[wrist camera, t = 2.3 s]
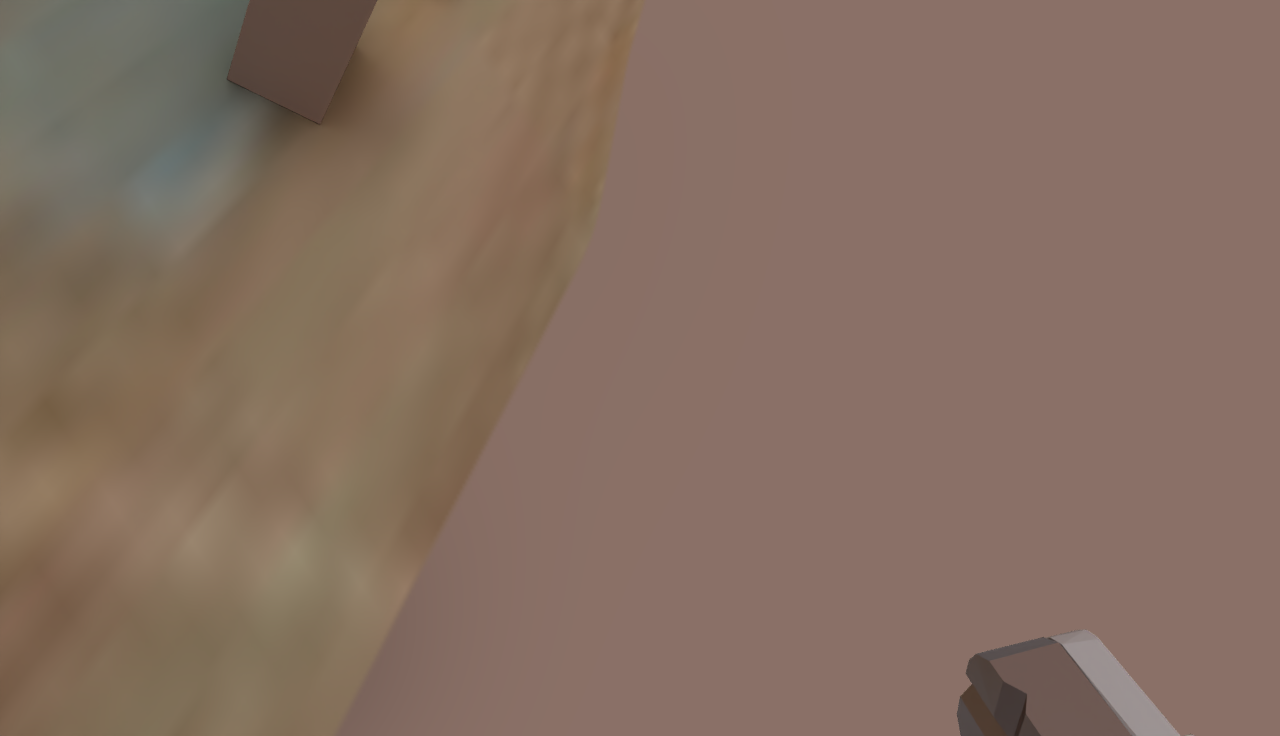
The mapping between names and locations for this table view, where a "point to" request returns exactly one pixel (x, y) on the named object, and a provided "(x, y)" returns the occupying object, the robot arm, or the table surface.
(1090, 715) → the robot arm
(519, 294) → the table surface
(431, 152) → the table surface
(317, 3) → the tall gray rectangular block
